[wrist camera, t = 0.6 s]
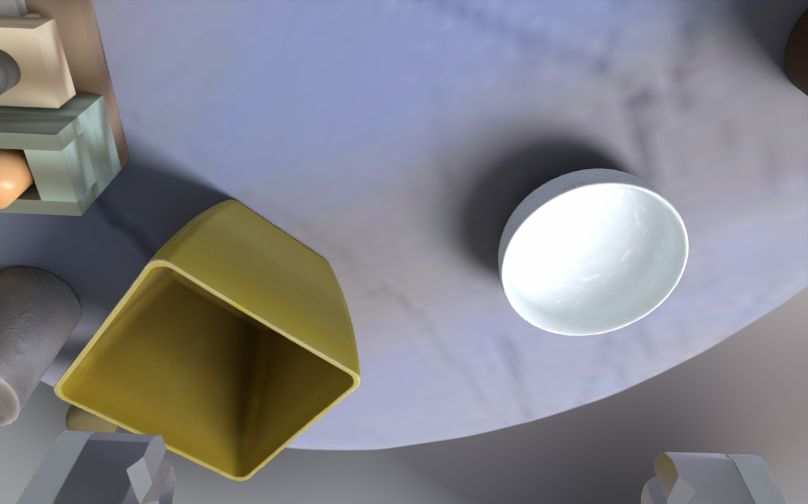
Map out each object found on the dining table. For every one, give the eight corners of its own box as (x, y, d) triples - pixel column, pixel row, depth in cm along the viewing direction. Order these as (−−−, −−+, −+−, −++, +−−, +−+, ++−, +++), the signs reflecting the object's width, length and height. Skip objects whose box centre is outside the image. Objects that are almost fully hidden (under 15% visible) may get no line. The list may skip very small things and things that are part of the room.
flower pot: (218, 150, 56) (153, 256, 42) (377, 260, 63) (366, 381, 49) (126, 273, 64) (48, 394, 51) (276, 358, 71) (242, 484, 58)
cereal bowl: (643, 291, 65) (665, 337, 59) (487, 292, 65) (494, 337, 59) (682, 145, 55) (713, 183, 49) (498, 147, 55) (507, 185, 49)
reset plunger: (-15, 141, 47) (-47, 165, 43) (32, 143, 47) (3, 167, 43) (1, 182, 49) (-29, 208, 46) (46, 184, 49) (19, 210, 46)
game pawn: (127, 329, 69) (83, 405, 60) (164, 362, 72) (128, 438, 63) (90, 348, 71) (42, 424, 62) (128, 379, 74) (88, 456, 65)
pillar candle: (-21, 303, 67) (-117, 411, 55) (9, 249, 63) (-87, 353, 51) (64, 344, 71) (-9, 454, 59) (98, 296, 66) (28, 404, 54)
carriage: (-29, 10, 47) (-103, 40, 40) (61, 14, 47) (3, 45, 40) (-3, 85, 50) (-66, 124, 44) (82, 89, 50) (31, 129, 44)
